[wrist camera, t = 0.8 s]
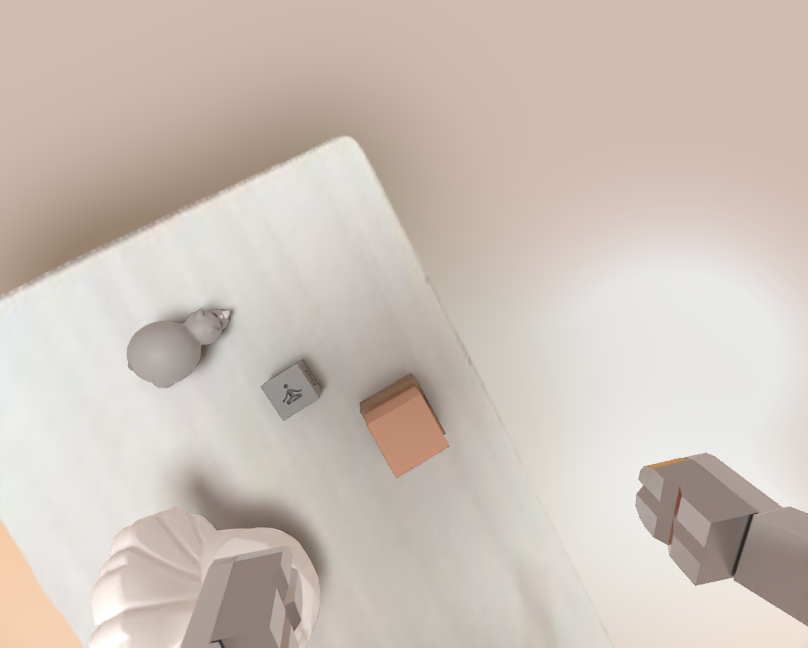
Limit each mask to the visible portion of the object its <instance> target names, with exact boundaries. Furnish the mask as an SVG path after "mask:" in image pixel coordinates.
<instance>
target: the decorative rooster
mask: <svg viewBox="0 0 808 648" xmlns="http://www.w3.org/2000/svg"><path fill="white" fill-rule="evenodd" d="M282 546H289V547H290V550H291V552H292V555H293V559H292V567H293V568H295V569H297V570H298V572H299V575H300V578H301V584H302V595H303V608H302V620H301V622H300V624H299V625H298V627H297V628H296V630H295V631H294V633H295V636H296V639H297V641H298V644H299V648H306V647H307V644H308V641H309V637H310V636H311V634H312V631H313V628H314V625H315V623H316V619H317V616H318V612H319V608H320V585H319V579H318V576H317V574H316V571H315V569H314V567H313V564H312V562H311V561H310V559H309V557H308V556H307V554H306V552H305V551H304V549H303V548H302V546H301V545H300V543H299V542H298V541H297V540H296V539H294V538H293V537H291V536H290V535H288V534H286V533H285V532H283V531H280V530H278V529H274V528H265V527H263V528H262V527H261V528H250V529H224V530H219V531H217V530H216V529H215V528H214V527H213V526H212V524H211V523H210V522H209V521H208V520H206V519H205V518H204V517H203V516H201V515H198V514H192V515H189V516H188V514H187V512H185V511H184V510H182V509H180V508H170V509H168V510H165V511H162V512H159V513H157V514H155V515H152V516H148V517H145V518H143V519H140V520H137V521H136V522H135V523H134V524H133V525H132V526H129V527H126V528H124V529H123V530H121V531H120V533H118V534H117V536H116V537H115V538H114V540H113V542H112V544H111V548H110V559H109V560H108V561H107V562H106V563H105V564H104V565H103V567H102V568H101V571H100V574H99V581H98V582H97V583H96V584H95V586H94V588H93V590H92V597H91V607H92V615H93V621H94V623H95V625H97V626H99V627H98V628H97V629H96V631H95V632H94V633H93V634H92V636H91V638H90V640H89V644H88V648H180V647H181V644H182V641H183V638H184V636H185V633H186V630H187V627H188V624H189V621H190V619H191V616H192V613H193V610H194V607H195V604H196V602H197V599H198V596H199V593H200V590H201V588H202V585H203V582H204V579H205V576H206V573H207V571H208V568H209V567H210V565H211V564H212V563H213V561H214V560H216V559H220V558H225V557H230V556H235V555H239V554H245V553H250V552H255V551H260V550H266V549H271V548H276V547H282Z"/></svg>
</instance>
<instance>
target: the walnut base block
mask: <svg viewBox="0 0 808 648" xmlns="http://www.w3.org/2000/svg"><path fill="white" fill-rule="evenodd" d="M413 386H415V387H416V389H417V390H418V391H419V392H420V393H421V395H422V397H423V398H424V400H425V402H426V404H427V406H428V408H429V409H430V411H431V413H432V415H433V417H434V419H435V420H436V422H437V424H438V426H439V428H440V430H441V431H442V433H443V435H444V434H446V433H445V431H444V429H443V428H442V426H441V424H440V422H439V420H438V418H437V417H436V415H435V413H434V411H433V409H432V408H431V406H430V404H429V402H428V400H427V399H426V397H425V395H424V393H423V391H422V390H421V388H420V386H419V384H418V382H417V381H416V379H415V378H414V377H413V376H412V375H411V374H410V375H408V376H406V377H404V378H403V379H401V380H399V381H397V382H396V383H394V384H392V385H391V386H389V387H387V388H385V389H384V390H382V391H380V392H378V393H377V394H375V395H373V396H372V397H370V398H368V399H366V400H365V401H363V402H361V403H360V412H361V414H362V416H363V418H364V419H365V421H366V416H365V413H367V412H369V411H371V410H372V409H374V408H376V407H378V406H379V405H381V404H383V403H385V402H387V401H388V400H390V399H392V398H394V397H395V396H397V395H399V394H401V393H402V392H404V391H406V390H408V389H409V388H411V387H413Z"/></svg>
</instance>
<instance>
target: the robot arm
mask: <svg viewBox="0 0 808 648" xmlns="http://www.w3.org/2000/svg"><path fill="white" fill-rule="evenodd" d="M639 481H640V482H641V483H642V484H643V487H642V488H641V489H640V491H639V492H638V493H637V494H636V508H637V511H638V514H639V517H640V519H641V521H642V522H643V524H644V526H645V527H646V529H647V530H648V531H649V532H650V533H651V535H652V536H653V537H654V538H656V539H658V540H660V541H661V542H663V543H665V544H667V545H668V549H669V556H670V557H671V558H672V559H673V560H674V561H675V563H676V564H677V565H678V566H679V568H680V569H681V570H682V571H683V572H684V573H685V574H686V575H687V577H688V578H689V579H690V580H691V581H692V582H693V584H694V585H695V586H696V585H700V584H705V583H709V582H714V581H719V580H723V579H728V578H733V577H734V581H736V582H738V583H740V584H741V585H742V586H744V587H746V588H747V589H749V590H750V591H752V592H754V593H755V594H757V595H758V596H760V597H762V598H763V599H765V600H766V601H768V602H770V603H771V604H773V605H775V606H776V607H778V608H779V609H781V610H782V611H784V612H786V613H787V614H789V615H791V616H792V617H794V618H796V619H797V620H798V621H800V622H802V623H803V624H805V625H807V626H808V513H805V512H803V511H800V510H797V509H795V508H792V507H785V508H782V507H781V506H780V505H778V504H777V503H776V502H774V501H773V500H772V499H771V498H769V497H768V496H767V495H765V494H764V493H763V492H761V491H760V490H758V489H757V488H756V487H754V486H753V485H752V484H751V483H749V482H748V481H746V480H745V479H744V478H743V477H741V476H740V475H739V474H737V473H736V472H735V471H733V470H732V469H731V468H729V467H728V466H727V465H725V464H724V463H723V462H721V461H720V460H719V459H717V458H716V457H715V456H713V455H710V454H708V453H703V454H698V455H694V456H689V457H685V458H679V459H674V460H670V461H666V462H661V463H657V464H653V465H648V466H644V467H643V468H642V469H641V471H640V474H639ZM292 559H293V555H292V552H291V550H290V547H289V546H282V547H276V548H271V549H266V550H260V551H255V552H250V553H245V554H239V555H235V556H230V557H225V558H220V559H216V560H214V561H213V563H212V564H211V565H210V567H209V568H208V571H207V573H206V576H205V579H204V582H203V585H202V588H201V590H200V593H199V596H198V599H197V602H196V604H195V607H194V610H193V613H192V616H191V619H190V621H189V624H188V627H187V630H186V633H185V636H184V638H183V641H182V644H181V647H180V648H299V644H298V641H297V639H296V636H295V633H294V631H295V630H296V628H297V627H298V625H299V624H300V622H301V620H302V608H303V595H302V584H301V578H300V575H299V572H298V570H297V569H295V568H293V567H292Z"/></svg>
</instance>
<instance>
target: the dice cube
mask: <svg viewBox="0 0 808 648" xmlns="http://www.w3.org/2000/svg"><path fill="white" fill-rule="evenodd" d="M261 388H262V390H263V391H264V393H265V394H266V396H267V397H268V399H269V400H270V402H271V403H272V405H273V406H274V408H275V409H276V411H277V412H278V414H279V415H280V417H281V418H282V420H283V421H284V420H286V419H287V418H289V417H291V416H292V415H294V414H295V413H297V412H298V411H300V410H302V409H303V408H305V407H306V406H308V405H309V404H311V403H313V402H314V401H316V400H317V399H319V398H320V395H321V393H322V389H321V387H320V386H319V384H318V383H317V381H316V379H315V378H314V376H313V375H312V373H311V372H310V370H309V369H308V367H307V366H306V364H305V363H304V361H303V360H300V361H299V362H297V363H295V364H294V365H292V366H291V367H289V368H287V369H286V370H284V371H283V372H281V373H279V374H278V375H276V376H275V377H273V378H271V379H270V380H268V381H267V382H266V383H264V384H263V385H262V386H261Z"/></svg>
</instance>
